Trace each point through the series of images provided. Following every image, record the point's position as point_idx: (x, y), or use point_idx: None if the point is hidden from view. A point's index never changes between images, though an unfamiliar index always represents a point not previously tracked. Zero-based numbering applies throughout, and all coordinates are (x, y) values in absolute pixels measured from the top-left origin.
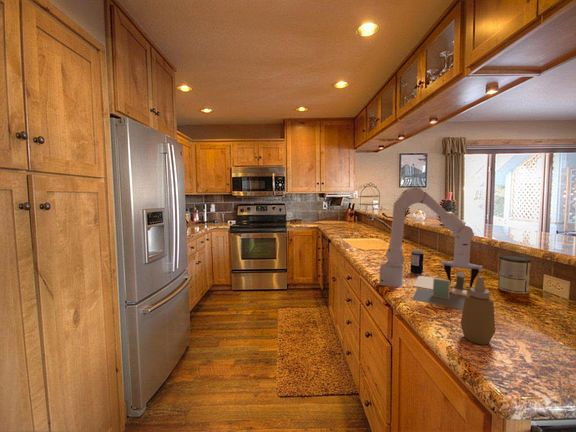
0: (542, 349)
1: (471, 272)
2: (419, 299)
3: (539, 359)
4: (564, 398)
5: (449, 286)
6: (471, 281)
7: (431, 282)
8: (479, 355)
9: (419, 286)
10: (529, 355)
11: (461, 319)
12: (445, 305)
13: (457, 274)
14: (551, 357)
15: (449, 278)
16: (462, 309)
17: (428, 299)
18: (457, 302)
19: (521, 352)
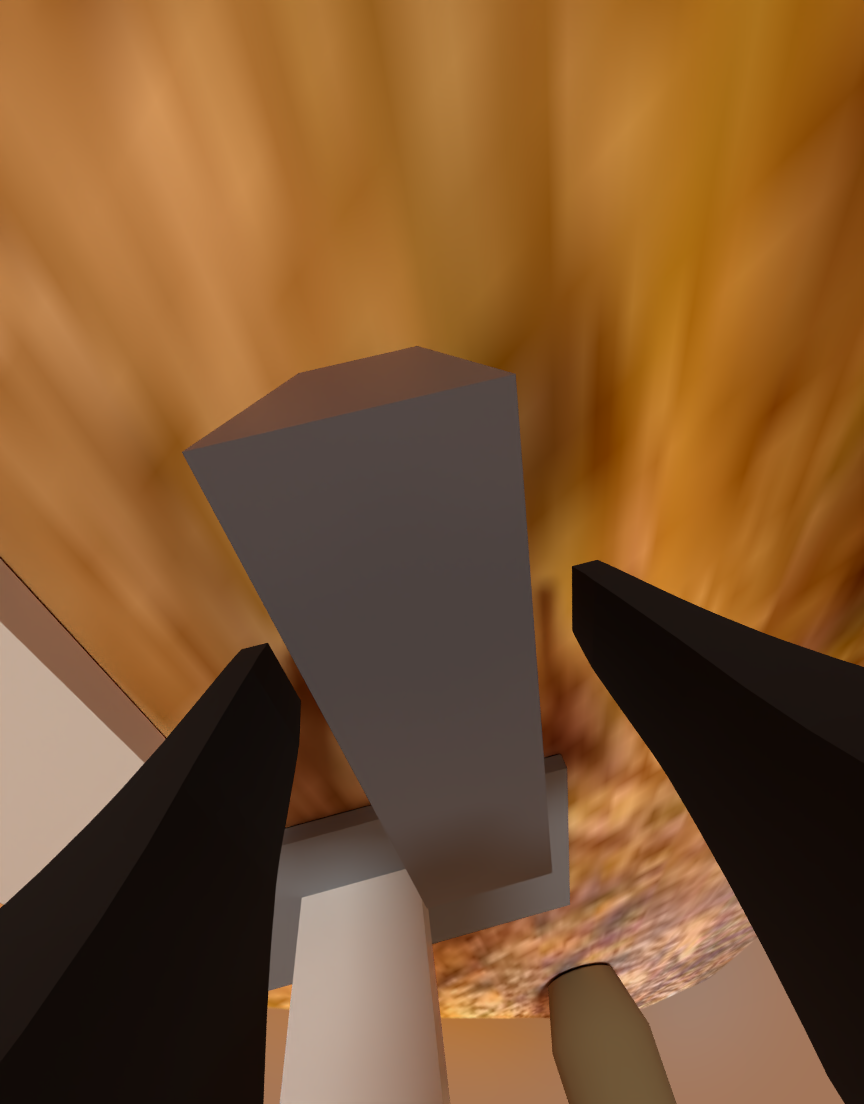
0: (744, 913)
1: (823, 1061)
2: (290, 973)
3: (712, 943)
4: (701, 981)
5: (438, 1024)
6: (649, 728)
7: (3, 712)
8: None
9: None
10: (696, 945)
11: (562, 1082)
12: (441, 936)
13: (365, 775)
14: (747, 924)
15: (272, 822)
16: (527, 915)
17: None
18: None
19: (681, 948)
